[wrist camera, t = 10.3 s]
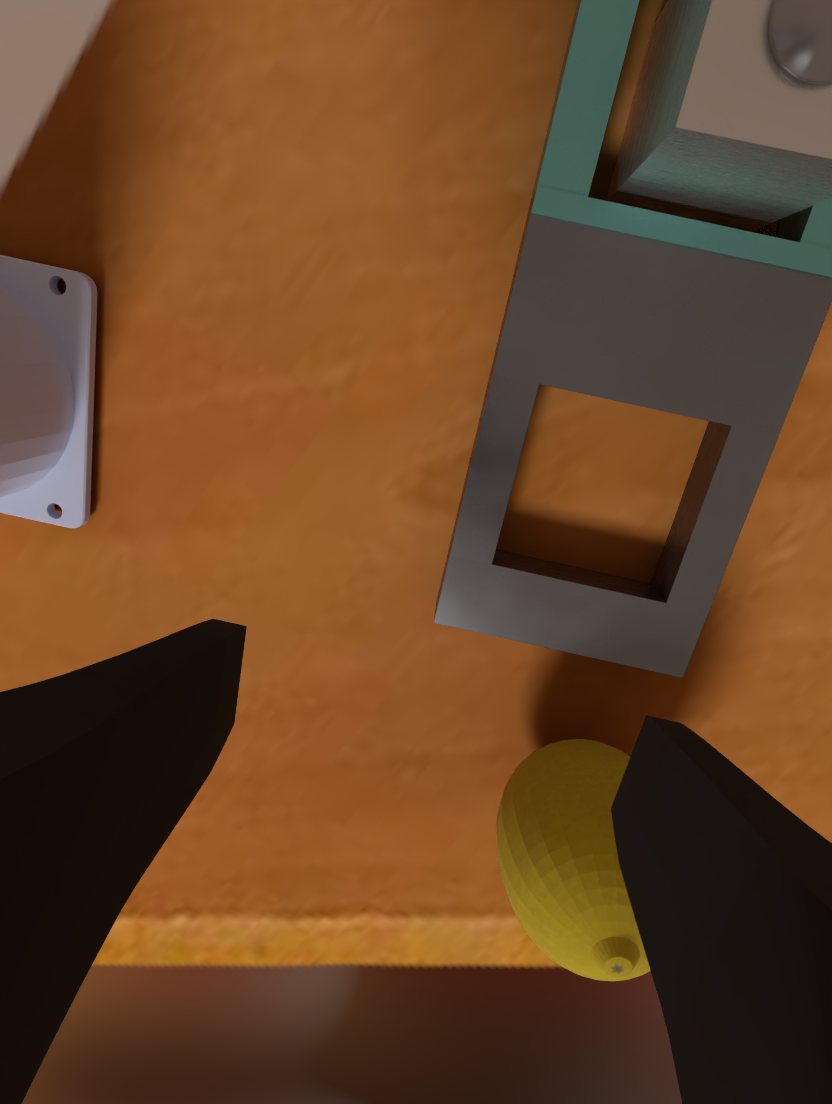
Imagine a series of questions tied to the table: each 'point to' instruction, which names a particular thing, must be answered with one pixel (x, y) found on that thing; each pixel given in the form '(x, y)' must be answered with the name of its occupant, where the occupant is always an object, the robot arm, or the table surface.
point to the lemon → (570, 859)
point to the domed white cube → (731, 113)
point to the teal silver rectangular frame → (632, 377)
